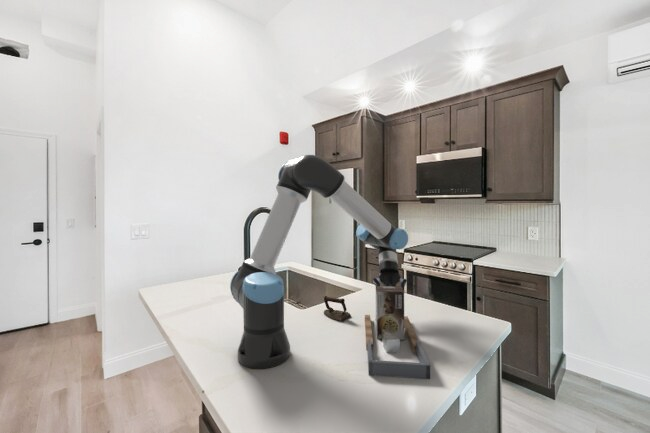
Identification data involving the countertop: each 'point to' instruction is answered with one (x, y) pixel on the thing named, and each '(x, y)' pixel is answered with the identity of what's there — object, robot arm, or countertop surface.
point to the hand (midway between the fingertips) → (393, 322)
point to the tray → (399, 365)
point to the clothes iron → (336, 314)
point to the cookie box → (390, 310)
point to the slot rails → (407, 327)
